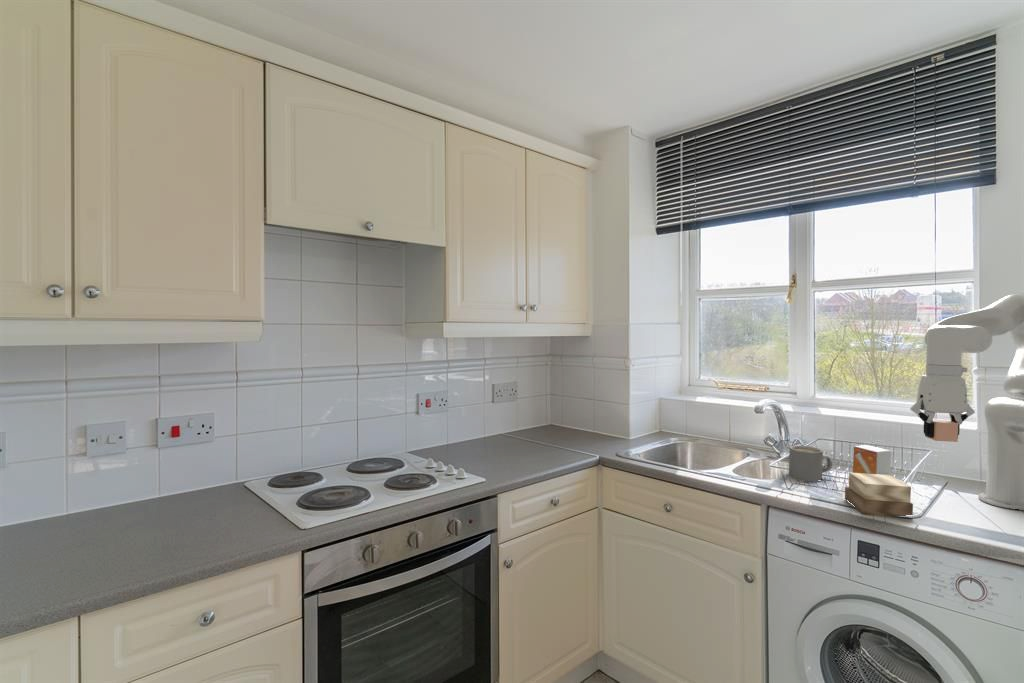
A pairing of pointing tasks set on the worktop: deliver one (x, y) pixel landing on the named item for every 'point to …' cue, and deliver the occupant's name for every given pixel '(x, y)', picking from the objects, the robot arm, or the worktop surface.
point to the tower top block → (879, 487)
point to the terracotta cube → (945, 431)
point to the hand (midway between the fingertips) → (941, 436)
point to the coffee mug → (807, 463)
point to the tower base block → (878, 505)
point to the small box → (871, 460)
